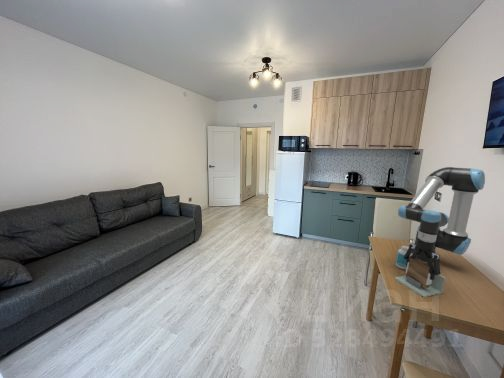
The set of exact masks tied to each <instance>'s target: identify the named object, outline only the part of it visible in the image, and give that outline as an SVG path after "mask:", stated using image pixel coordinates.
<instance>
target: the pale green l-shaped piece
mask: <svg viewBox="0 0 504 378" xmlns="http://www.w3.org/2000/svg"><path fill="white" fill-rule="evenodd" d="M406 275H407V274H406ZM406 275H400V276H395V277H393V278H394V280H395V281H397V282H398V283H400V284H401V285H403V286H405V287H406V288H407V289H410V290H411V291H413V292H415V293H416V294H418V295H419V296H420V297H422V296H423V297H422V298H426V297H425V296H429V297H432V296H431V295H433V296H437V295H441V294H444V293H443V292H444V291H443V290H444V287H445V284H446V276H443V275H441V274H440V275H435V278H434V280H432V282H431V284H430V285H429V287H428V288H424V287H422V286H421V283H419V282H417V281H416V280H414V279H412V278H411V277H409V276H407V277H406ZM436 294H437V295H436Z"/></svg>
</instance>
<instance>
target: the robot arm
mask: <svg viewBox="0 0 504 378" xmlns="http://www.w3.org/2000/svg"><path fill="white" fill-rule="evenodd" d="M485 183H486V174H485V172H484V170H482V169H478V168H467V167H466V168H465V167H455V166H454V167H451V166H446V167H442V168H439V169H437V170H434V171H433V172H431V173H430V174H429V175H428V176H426V178H425V181H424V184H423V185H422V186H421V188H420V189H419V190H418V191H417V193H416V194H415V195H414V196H413V198H412V199H411V201H409V202H408V204H407V205H404V204H402V205H400V206H399V208H398V210H397V211H398V212H397V214H398V217H400V218H402V219H405V220H410V221H413V222H417V223H419V226H418V227H417V230H416V234H415V240H414V243H413V244H412V243H411V244H409V245H408V247H409V249H408V251H407V252H406V254H405V256H404V257H403V258H404V259H406V261H407V262H406V267H407V269H406V270H405V274H407V270H408V265H409V260H410V258H417V259H419V260H421V261H423V262H425V263H427V264H428V266H429V267H430V273H428V278H427V282H426V285H430V284H431V282H432V280H434V278H435V275H441V274H442V273H441V265H440V258H441V255H440V254H437V253H436V252H437V251H436V249H437V248H439V249H440V250H444V251H447V252H450V253H452V254H457V255H461V256H462V255H464V254H465V253H466V252H467V251H468V249H469V247H470V244H471V243H472V239H471V238H470V237H469V233H467V231H466V230H467V226H468V221H469V217H470V213H471V208H472V204H473V200H474V197H475V196H474V195H476V194H477V193H479V191H481V190H483V189H484V187H485V185H486V184H485ZM444 186H448V187H451V190H452V191H453V192H454V193H453V197H452V202H451V207H450V210H449V211H450V212H449V216H448V215H447V214H446V213H444V212H442V211H441V212H440V211H436V210H430V209H429V210H426V209H425V207H426V206H427V205H428V204H429V202H430V201H431V199H433V197H434V196H435V195H436V192H437V191H439V189H441V188H443V187H444ZM446 225H447V226H446ZM445 226H446V228H443V229H442V230H441V227H445ZM411 253H412V255H411ZM410 255H411V256H410Z"/></svg>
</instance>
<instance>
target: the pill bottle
mask: <svg viewBox="0 0 504 378" xmlns="http://www.w3.org/2000/svg"><path fill="white" fill-rule="evenodd" d="M408 249H409V246H407V245H401V248H399V249H398V250H397V254H396V259H395V260H396V261H395V266H396V267H397V268H399V269H402V270H405V271H406V269H407V267H406V262H407V261H406V259H404V258H403V257H404V256H405V254H406V252H407V251H408ZM411 255H412V253H411ZM411 255H410V256H411Z"/></svg>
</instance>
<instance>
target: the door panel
mask: <svg viewBox="0 0 504 378" xmlns="http://www.w3.org/2000/svg"><path fill="white" fill-rule="evenodd" d="M428 273H430V267H429V266H428V264H427V262H426V261H422V260H419V259H417V258H410V260H409V265H408V270H407V273H406V277H407V276H409V277H411V278H412V279H414V280H416V281H417V282H419V283H421V286H422V287H424V288H428V287H429V285H426V282H427V278H428Z"/></svg>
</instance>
